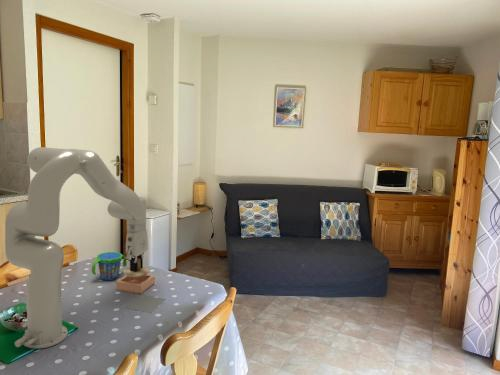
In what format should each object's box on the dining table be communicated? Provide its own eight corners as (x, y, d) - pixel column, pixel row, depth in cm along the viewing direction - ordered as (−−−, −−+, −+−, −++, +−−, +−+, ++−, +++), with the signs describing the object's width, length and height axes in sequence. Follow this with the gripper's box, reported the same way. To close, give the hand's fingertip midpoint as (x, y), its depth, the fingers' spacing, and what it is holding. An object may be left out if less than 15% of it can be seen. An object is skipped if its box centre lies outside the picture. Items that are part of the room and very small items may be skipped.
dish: (141, 295, 152) (141, 285, 151) (116, 290, 155) (116, 281, 154) (154, 284, 163) (155, 275, 162) (131, 280, 166) (131, 271, 165)
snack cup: (121, 270, 177) (121, 249, 175) (131, 277, 169) (131, 255, 168) (87, 277, 166) (86, 255, 164) (96, 285, 158) (96, 262, 157)
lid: (141, 278, 152) (141, 264, 151) (119, 274, 154) (118, 261, 153) (153, 269, 162) (153, 256, 161) (132, 266, 164) (132, 253, 163)
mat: (151, 313, 137) (151, 312, 137) (121, 308, 140) (121, 307, 140) (166, 299, 149) (166, 299, 149) (139, 295, 152) (139, 294, 152)
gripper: (133, 233, 146) (133, 278, 149) (154, 223, 162) (154, 264, 165) (116, 230, 148) (116, 275, 151) (138, 221, 164) (138, 261, 166)
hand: (136, 269), depth 158 cm, fingers closed on lid, 3 cm apart
